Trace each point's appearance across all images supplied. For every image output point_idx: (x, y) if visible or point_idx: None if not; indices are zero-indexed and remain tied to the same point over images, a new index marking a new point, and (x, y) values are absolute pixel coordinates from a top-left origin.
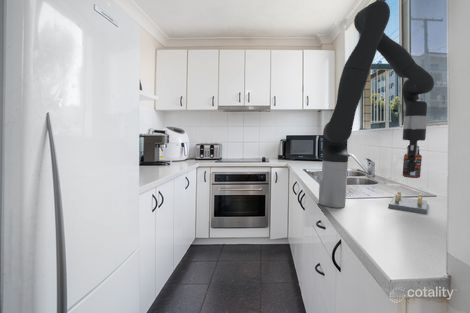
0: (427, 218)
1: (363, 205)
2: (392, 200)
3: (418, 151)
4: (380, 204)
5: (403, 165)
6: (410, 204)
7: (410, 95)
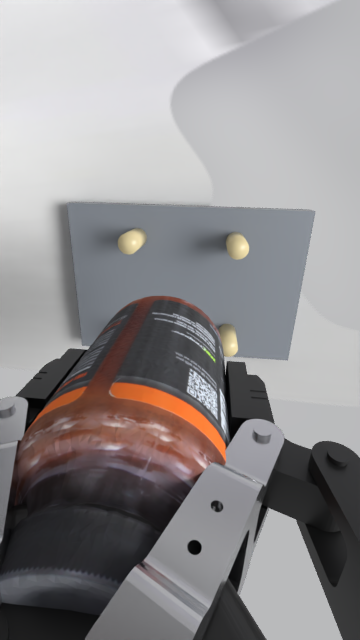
0: (18, 336)
1: (22, 72)
2: (169, 213)
3: None
4: (120, 157)
5: (122, 334)
6: (133, 293)
7: None
